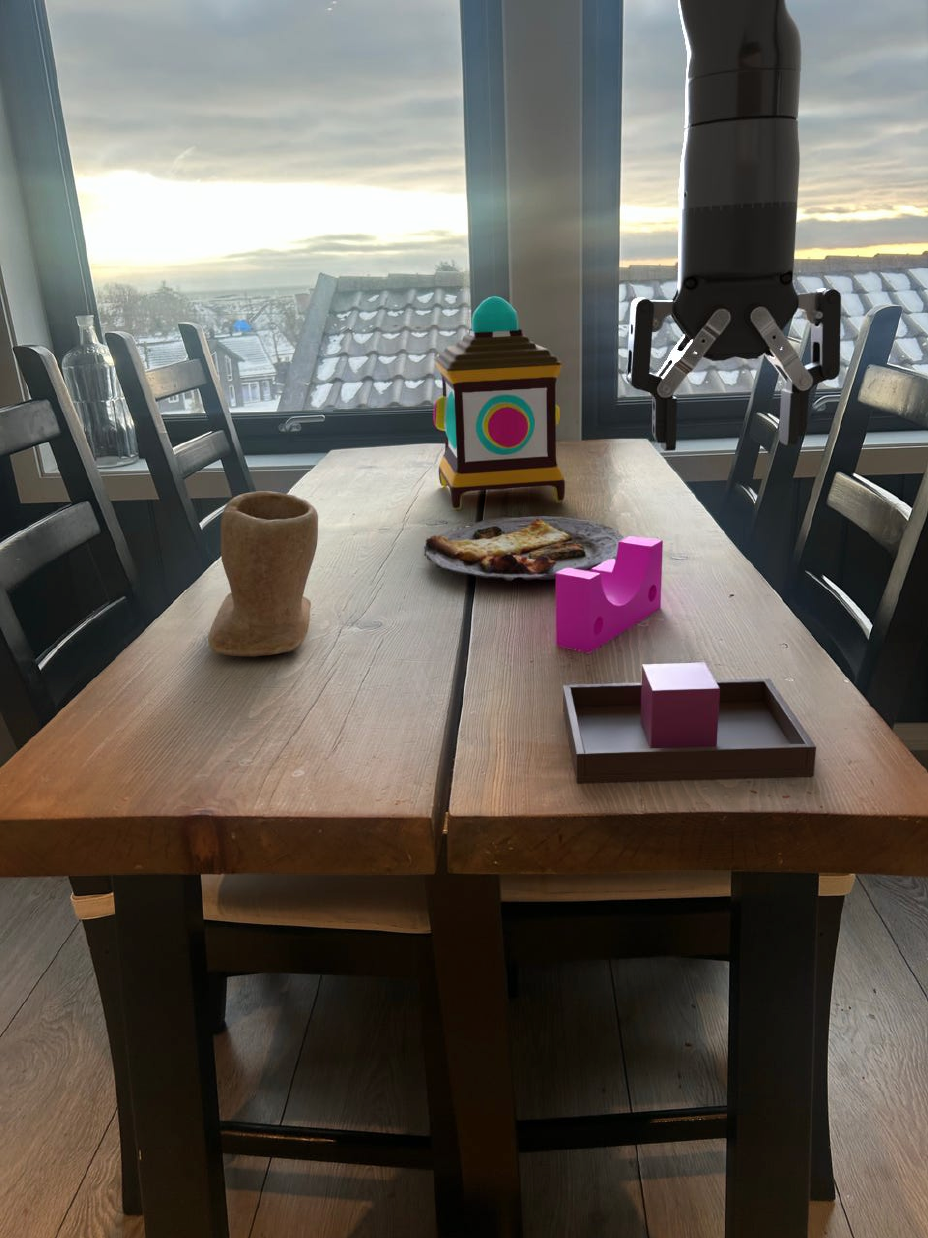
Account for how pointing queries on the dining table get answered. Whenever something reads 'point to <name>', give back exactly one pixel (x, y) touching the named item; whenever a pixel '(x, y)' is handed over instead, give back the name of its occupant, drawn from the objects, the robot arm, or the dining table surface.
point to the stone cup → (265, 574)
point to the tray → (746, 747)
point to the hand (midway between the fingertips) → (728, 446)
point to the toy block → (608, 595)
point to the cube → (679, 705)
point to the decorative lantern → (498, 408)
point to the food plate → (523, 547)
